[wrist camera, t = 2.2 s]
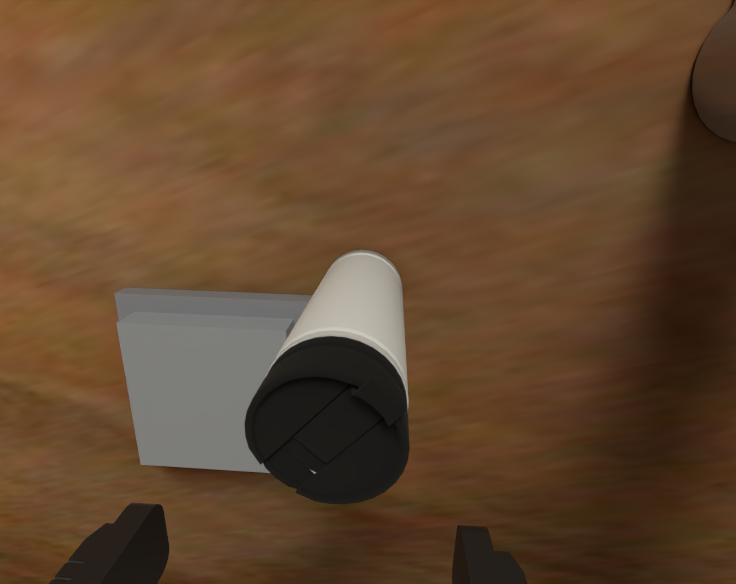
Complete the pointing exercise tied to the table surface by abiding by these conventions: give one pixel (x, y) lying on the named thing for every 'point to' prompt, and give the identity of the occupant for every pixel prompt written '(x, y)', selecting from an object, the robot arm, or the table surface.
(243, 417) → the slate plinth
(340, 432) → the travel mug
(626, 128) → the table surface
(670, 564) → the table surface
